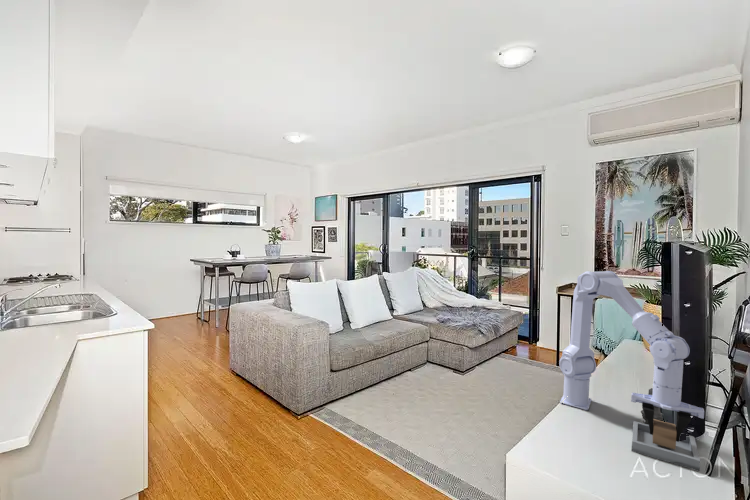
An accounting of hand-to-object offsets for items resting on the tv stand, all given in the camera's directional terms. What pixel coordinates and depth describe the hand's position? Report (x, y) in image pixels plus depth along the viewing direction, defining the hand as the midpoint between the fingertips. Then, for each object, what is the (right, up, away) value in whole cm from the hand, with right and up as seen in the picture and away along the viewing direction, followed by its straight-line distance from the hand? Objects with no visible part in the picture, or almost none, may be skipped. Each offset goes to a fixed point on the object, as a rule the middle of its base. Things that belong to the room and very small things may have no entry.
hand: (663, 436), depth 95 cm
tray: (0, -3, 0) cm, 3 cm away
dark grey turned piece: (+5, -3, +11) cm, 13 cm away
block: (0, -2, 0) cm, 2 cm away
